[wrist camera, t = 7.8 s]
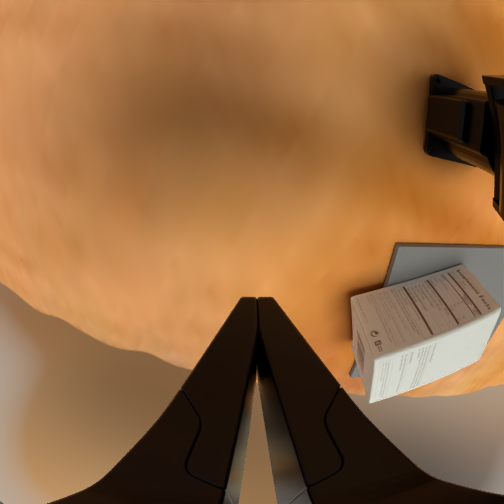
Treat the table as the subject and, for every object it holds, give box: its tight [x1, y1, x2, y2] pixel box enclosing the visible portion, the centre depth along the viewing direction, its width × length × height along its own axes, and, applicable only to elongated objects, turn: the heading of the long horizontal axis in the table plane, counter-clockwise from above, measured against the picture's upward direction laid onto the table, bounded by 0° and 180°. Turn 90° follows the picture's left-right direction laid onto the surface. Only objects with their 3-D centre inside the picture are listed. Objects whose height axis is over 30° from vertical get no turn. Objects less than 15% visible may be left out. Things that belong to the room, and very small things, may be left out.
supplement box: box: [351, 264, 501, 403], centre depth 21 cm, size 7×7×13 cm
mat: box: [349, 243, 504, 378], centre depth 26 cm, size 24×18×1 cm
